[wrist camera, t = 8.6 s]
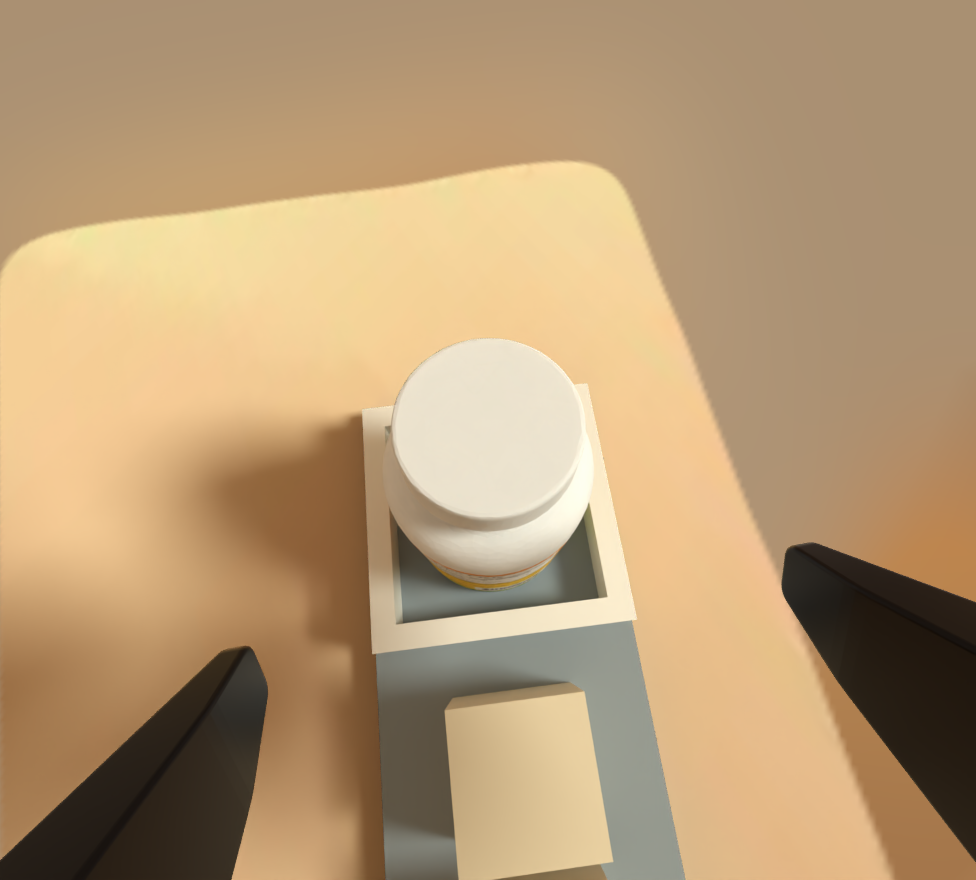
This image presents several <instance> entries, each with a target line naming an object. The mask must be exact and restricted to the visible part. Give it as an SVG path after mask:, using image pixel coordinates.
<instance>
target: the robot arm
mask: <svg viewBox="0 0 976 880" xmlns="http://www.w3.org/2000/svg"><path fill="white" fill-rule="evenodd" d="M782 592H783V595H784V597H785V599H786V601H787V603H788V604H789V606H790V607H791V609H792V611H793V612H794V614H795V615H796V617H797V619H798V620H799V622H800V623H801V625H802V626H803V628H804V630H805V631H806V633H807V634H808V636H809V638H810V639H811V641H812V642H813V644H814V646H815V647H816V649H817V650H818V652H819V654H820V655H821V657H822V658H823V660H824V661H825V663H826V665H827V666H828V668H829V669H830V671H831V672H832V674H833V675H834V677H835V678H836V680H837V681H838V683H839V684H840V685H841V687H842V688H843V689H844V691H845V692H846V694H847V695H848V696H849V698H850V699H851V700H852V701H853V703H854V704H855V705H856V707H857V708H858V709H859V711H860V712H861V713H862V714H863V716H864V717H865V718H866V720H867V721H868V722H869V724H870V725H871V726H872V728H873V729H874V730H875V732H876V733H877V734H878V735H879V736H880V738H881V739H882V741H883V742H884V743H885V744H886V746H887V747H888V748H889V750H890V751H891V752H892V754H893V755H894V756H895V758H896V759H897V760H898V761H899V763H900V764H901V765H902V767H903V768H904V769H905V771H906V772H907V773H908V775H909V776H910V777H911V778H912V780H913V781H914V782H915V784H916V785H917V786H918V788H919V789H920V790H921V791H922V793H923V794H924V795H925V797H926V798H927V799H928V801H929V802H930V803H931V805H932V806H933V807H934V809H935V810H936V811H937V812H938V814H939V815H940V816H941V817H942V819H943V820H944V822H945V823H946V824H947V825H948V827H949V828H950V829H951V831H952V832H953V833H954V835H955V836H956V837H957V839H958V840H959V841H960V842H961V844H962V845H963V846H964V848H965V849H966V850H967V852H968V853H969V854H970V855H971V857H972V858H973V859H974V861H975V862H976V602H973V601H971V600H968V599H966V598H963V597H960V596H958V595H955V594H952V593H949V592H947V591H944V590H941V589H938V588H936V587H933V586H931V585H928V584H925V583H922V582H920V581H917V580H914V579H912V578H909V577H906V576H903V575H900V574H898V573H895V572H893V571H890V570H887V569H885V568H882V567H879V566H876V565H873V564H871V563H868V562H866V561H863V560H860V559H858V558H855V557H852V556H849V555H847V554H844V553H841V552H839V551H836V550H833V549H830V548H828V547H825V546H822V545H820V544H817V543H804V544H798V545H793V546H790V547H789V548H788V549H787V550H786V553H785V559H784V568H783V576H782ZM267 697H268V687H267V682H266V679H265V677H264V674H263V672H262V670H261V667H260V665H259V663H258V660H257V658H256V655H255V653H254V651H253V650H252V649H251V648H250V647H249V646H241V647H236V648H231V649H226V650H223V651H221V652H220V653H219V654H218V655H217V656H216V657H214V658H213V659H212V660H211V661H210V662H209V663H208V664H207V665H206V666H205V667H204V668H203V669H202V670H201V671H200V672H199V673H198V674H197V675H195V676H194V677H193V678H192V679H191V680H190V681H189V682H188V683H187V684H186V685H185V686H184V687H183V688H182V689H181V690H180V691H179V692H178V693H176V694H175V695H174V696H173V697H172V698H171V699H170V700H169V701H168V702H167V703H166V704H165V705H164V706H163V707H162V708H161V709H160V710H159V711H157V712H156V713H155V714H154V715H153V716H152V717H151V718H150V719H149V720H148V721H147V722H146V723H145V724H144V725H143V726H142V727H141V728H139V729H138V730H137V731H136V732H135V733H134V734H133V735H132V736H131V737H130V738H129V739H128V740H127V741H126V742H125V743H124V744H123V745H122V746H120V747H119V748H118V749H117V750H116V751H115V752H114V753H113V754H112V755H111V756H110V757H109V758H108V759H107V760H106V761H105V762H104V763H103V764H101V765H100V766H99V767H98V768H97V769H96V770H95V771H94V772H93V773H92V774H91V775H90V776H89V777H88V778H87V779H86V780H85V781H84V782H82V783H81V784H80V785H79V786H78V787H77V788H76V789H75V790H74V791H73V792H72V793H71V794H70V795H69V796H68V797H67V798H66V799H64V800H63V801H62V802H61V803H60V804H59V805H58V806H57V807H56V808H55V809H54V810H53V811H52V812H51V813H50V814H49V815H48V816H47V817H45V818H44V819H43V820H42V821H41V822H40V823H39V824H38V825H37V826H36V827H35V828H34V829H33V830H32V831H31V832H30V833H29V834H27V835H26V836H25V837H24V838H23V839H22V840H21V841H20V842H19V843H18V844H17V845H16V846H15V847H14V848H13V849H12V850H11V851H9V852H8V853H7V854H6V855H5V856H4V857H3V858H2V859H1V860H0V880H231V879H232V875H233V871H234V867H235V863H236V859H237V855H238V851H239V847H240V844H241V840H242V836H243V832H244V828H245V824H246V820H247V816H248V812H249V808H250V803H251V799H252V794H253V789H254V783H255V777H256V770H257V764H258V757H259V750H260V744H261V737H262V731H263V724H264V717H265V711H266V704H267Z"/></svg>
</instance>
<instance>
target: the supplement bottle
mask: <svg viewBox="0 0 976 880" xmlns="http://www.w3.org/2000/svg"><path fill="white" fill-rule="evenodd" d="M593 480H594V462H593V454H592V449H591V444H590V441H589V438H588V435H587V433H586V423H585V414H584V409H583V405H582V402H581V399H580V397H579V394H578V392H577V390H576V388H575V386H574V385H573V383H572V382H571V380H570V379H569V377H568V376H567V375H566V373H565V372H564V371H563V370H562V369H561V368H560V367H559V366H558V365H557V364H556V363H555V362H554V361H552V360H551V359H550V358H548V357H547V356H546V355H544V354H543V353H541V352H540V351H538V350H536V349H534V348H532V347H530V346H527V345H524V344H522V343H519V342H516V341H511V340H506V339H498V338H480V339H472V340H467V341H463V342H459V343H456V344H453V345H451V346H448V347H446V348H444V349H441V350H440V351H438V352H436V353H435V354H433V355H432V356H431V357H429V358H428V359H426V360H425V361H423V362H422V363H421V364H420V365H419V366H418V367H417V368H416V369H415V370H414V371H413V372H412V373H411V375H410V376H409V377H408V379H407V380H406V382H405V383H404V385H403V387H402V388H401V390H400V392H399V394H398V396H397V399H396V402H395V405H394V409H393V413H392V419H391V432H390V435H389V437H388V440H387V443H386V448H385V452H384V458H383V484H384V490H385V495H386V498H387V502H388V505H389V507H390V510H391V512H392V514H393V516H394V518H395V520H396V522H397V524H398V525H399V526H400V528H401V529H402V531H403V532H404V533H405V535H406V536H407V537H408V539H409V540H410V541H411V542H412V544H413V545H414V546H415V547H416V548H417V549H419V550H420V551H421V552H422V554H423V555H424V556H425V557H426V558H427V559H428V560H429V561H430V562H431V563H432V564H433V566H434V567H435V568H436V569H437V570H438V571H439V572H441V573H442V574H443V575H444V576H445V577H447V578H448V579H449V580H451V581H453V582H454V583H456V584H458V585H460V586H462V587H465V588H468V589H471V590H476V591H484V592H497V591H505V590H509V589H512V588H515V587H518V586H520V585H522V584H524V583H526V582H528V581H530V580H531V579H533V578H534V577H535V576H537V575H538V574H539V573H540V572H541V571H542V570H543V569H544V568H545V567H546V566H547V565H548V564H549V563H550V562H551V560H552V559H553V558H554V557H555V555H556V554H557V553H558V552H559V551H560V549H561V548H562V547H563V546H564V545H565V543H566V542H567V541H568V539H569V538H570V537H571V535H572V534H573V532H574V531H575V529H576V528H577V526H578V524H579V523H580V521H581V519H582V517H583V515H584V513H585V511H586V509H587V506H588V503H589V500H590V496H591V493H592V488H593Z"/></svg>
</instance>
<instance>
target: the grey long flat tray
mask: <svg viewBox="0 0 976 880" xmlns="http://www.w3.org/2000/svg"><path fill="white" fill-rule="evenodd" d="M574 386H575V388H576V390H577V392H578V394H579V397H580V399H581V402H582V405H583V409H584V414H585V423H586V433H587V435H588V438H589V441H590V444H591V449H592V454H593V462H594V480H593V488H592V493H591V496H590V500H589V503H588V506H587V509H586V511H585V513H584V515H583V517H582V519H581V521H580V523H579V524H578V526H577V528H576V529H575V531H574V532H573V534H572V535H571V537H570V538H569V539H568V541H567V542H566V543H565V545H564V546H563V547H562V548H561V549H560V551H559V552H558V553H557V554H556V555H555V557H554V558H553V559H552V560H551V562H550V563H549V564H548V565H547V566H546V567H545V568H544V569H543V570H542V571H541V572H540V573H539V574H538V575H537V576H535V577H534V578H533V579H531V580H530V581H528V582H526V583H524V584H522V585H520V586H518V587H515V588H512V589H509V590H505V591H497V592H484V591H476V590H471V589H468V588H465V587H462V586H460V585H458V584H456V583H454V582H453V581H451V580H449V579H448V578H447V577H445V576H444V575H443V574H442V573H441V572H439V571H438V570H437V569H436V568H435V567H434V566H433V564H432V563H431V562H430V561H429V560H428V559H427V558H426V557H425V556H424V555H423V554H422V552H421V551H420V550H419V549H417V548H416V547H415V546H414V545H413V544H412V542H411V541H410V540H409V539H408V537H407V536H406V535H405V533H404V532H403V531H402V529H401V528H400V526H399V525H398V524H397V522H396V520H395V518H394V516H393V514H392V512H391V510H390V507H389V505H388V502H387V498H386V495H385V490H384V484H383V458H384V452H385V448H386V443H387V440H388V437H389V435H390V432H391V419H392V413H393V409H394V406H385V407H377V408H368V409H362V419H363V443H364V468H365V493H366V517H367V542H368V567H369V591H370V616H371V641H372V654H376V669H377V693H378V716H379V739H380V763H381V786H382V809H383V832H384V856H385V879H386V880H685V875H684V870H683V865H682V860H681V856H680V851H679V846H678V841H677V836H676V832H675V827H674V822H673V817H672V812H671V807H670V803H669V798H668V793H667V788H666V783H665V778H664V774H663V769H662V764H661V759H660V754H659V749H658V745H657V740H656V735H655V730H654V725H653V721H652V716H651V711H650V706H649V701H648V696H647V692H646V687H645V682H644V677H643V672H642V667H641V663H640V658H639V653H638V648H637V643H636V638H635V634H634V629H633V624H632V620H637V617H636V612H635V607H634V602H633V598H632V593H631V588H630V583H629V579H628V574H627V569H626V565H625V560H624V555H623V550H622V546H621V541H620V536H619V531H618V527H617V522H616V517H615V512H614V508H613V503H612V498H611V493H610V489H609V484H608V479H607V474H606V470H605V465H604V460H603V455H602V451H601V446H600V441H599V436H598V432H597V427H596V422H595V417H594V413H593V408H592V403H591V398H590V394H589V389H588V384H587V383H585V384H576V385H574Z"/></svg>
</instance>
